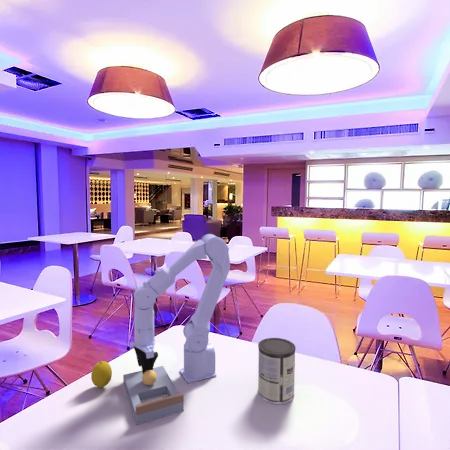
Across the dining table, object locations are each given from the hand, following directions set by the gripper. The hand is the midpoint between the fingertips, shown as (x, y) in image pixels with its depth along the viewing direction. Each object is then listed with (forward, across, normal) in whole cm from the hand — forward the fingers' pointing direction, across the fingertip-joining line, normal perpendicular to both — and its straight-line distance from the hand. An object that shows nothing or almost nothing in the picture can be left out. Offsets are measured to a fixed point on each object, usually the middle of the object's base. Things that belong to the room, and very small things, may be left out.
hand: (144, 370), depth 96 cm
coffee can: (+3, +22, +32) cm, 39 cm away
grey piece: (+3, +8, 0) cm, 8 cm away
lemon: (+4, -2, -12) cm, 13 cm away
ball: (-2, +4, +1) cm, 5 cm away
